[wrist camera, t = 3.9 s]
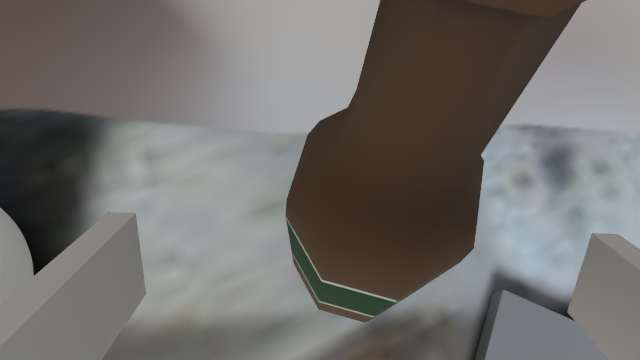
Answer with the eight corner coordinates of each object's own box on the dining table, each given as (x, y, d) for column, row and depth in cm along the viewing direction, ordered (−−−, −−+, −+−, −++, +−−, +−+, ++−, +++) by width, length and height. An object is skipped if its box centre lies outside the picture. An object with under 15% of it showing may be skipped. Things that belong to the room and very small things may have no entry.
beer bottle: (398, 202, 29) (679, -304, 7) (423, 316, 26) (1088, 56, 4) (289, 214, 28) (215, -293, 6) (301, 332, 25) (238, 142, 3)
